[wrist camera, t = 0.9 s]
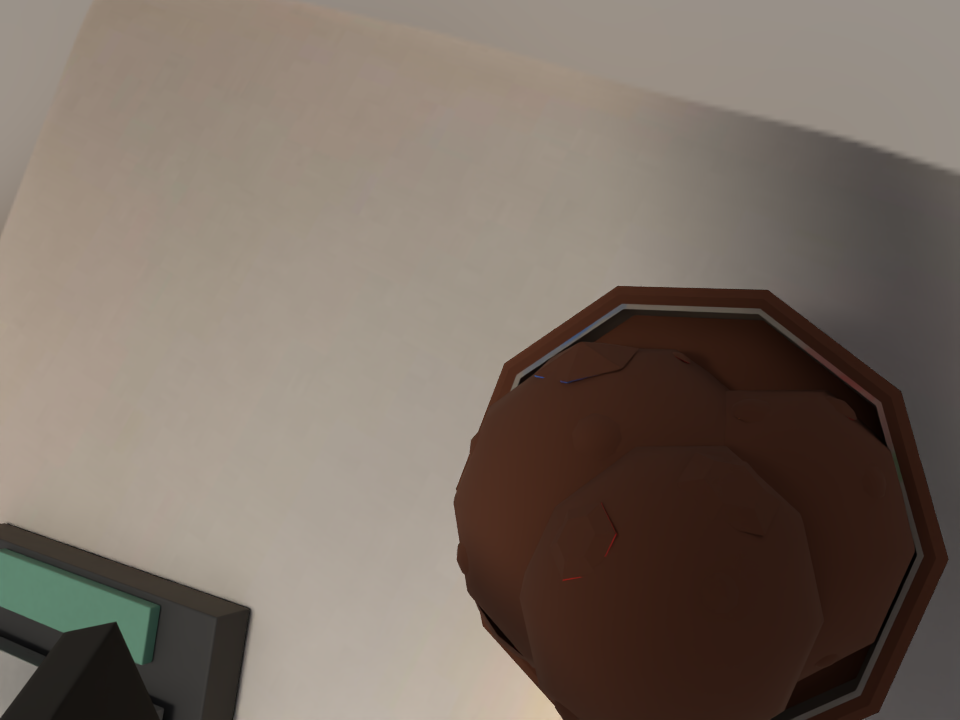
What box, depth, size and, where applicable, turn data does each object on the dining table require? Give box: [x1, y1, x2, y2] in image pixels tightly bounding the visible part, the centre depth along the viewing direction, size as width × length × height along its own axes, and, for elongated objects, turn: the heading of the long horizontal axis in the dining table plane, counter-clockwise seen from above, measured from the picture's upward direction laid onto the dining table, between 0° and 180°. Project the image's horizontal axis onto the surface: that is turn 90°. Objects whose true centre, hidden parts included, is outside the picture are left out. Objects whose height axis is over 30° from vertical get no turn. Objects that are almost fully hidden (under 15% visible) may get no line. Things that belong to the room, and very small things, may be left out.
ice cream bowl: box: [454, 286, 949, 720], centre depth 22 cm, size 11×11×15 cm
